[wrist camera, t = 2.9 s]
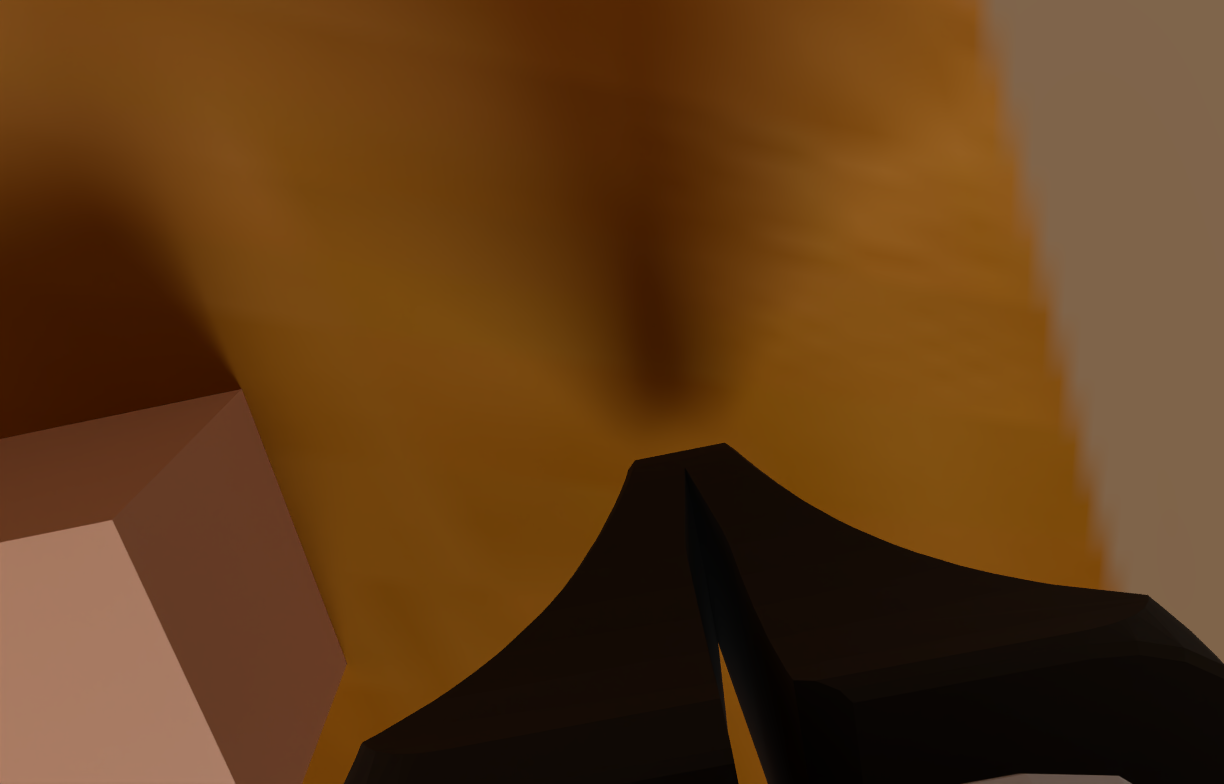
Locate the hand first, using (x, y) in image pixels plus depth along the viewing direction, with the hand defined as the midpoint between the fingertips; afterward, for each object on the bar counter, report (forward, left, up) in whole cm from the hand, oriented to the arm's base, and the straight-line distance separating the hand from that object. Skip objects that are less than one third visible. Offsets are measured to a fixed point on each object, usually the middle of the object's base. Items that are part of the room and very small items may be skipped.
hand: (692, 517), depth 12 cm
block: (0, +9, -2) cm, 9 cm away
